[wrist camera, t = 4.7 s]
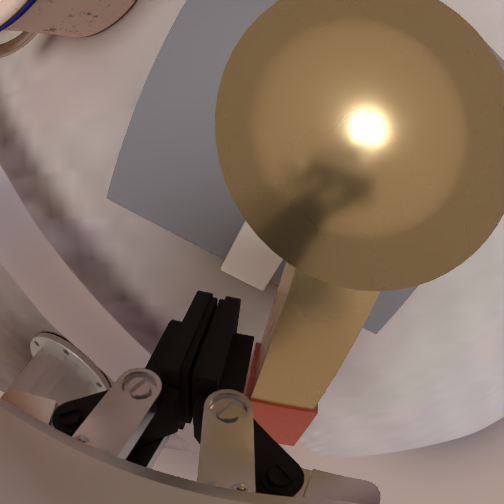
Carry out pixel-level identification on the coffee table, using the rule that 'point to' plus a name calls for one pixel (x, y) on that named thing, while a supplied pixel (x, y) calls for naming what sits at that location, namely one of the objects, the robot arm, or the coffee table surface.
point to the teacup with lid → (57, 18)
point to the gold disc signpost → (354, 172)
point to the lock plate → (201, 149)
